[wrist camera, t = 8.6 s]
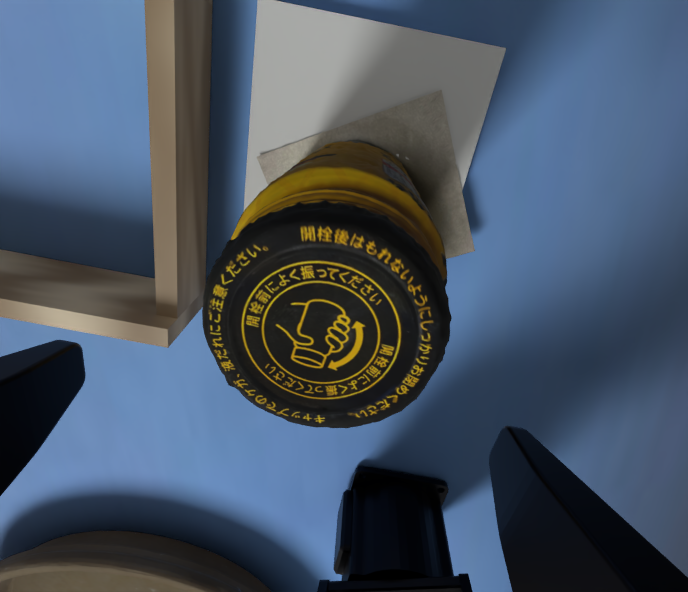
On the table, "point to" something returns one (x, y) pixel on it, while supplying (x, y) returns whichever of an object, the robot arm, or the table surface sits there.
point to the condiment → (343, 270)
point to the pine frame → (167, 203)
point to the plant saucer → (122, 566)
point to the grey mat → (357, 79)
